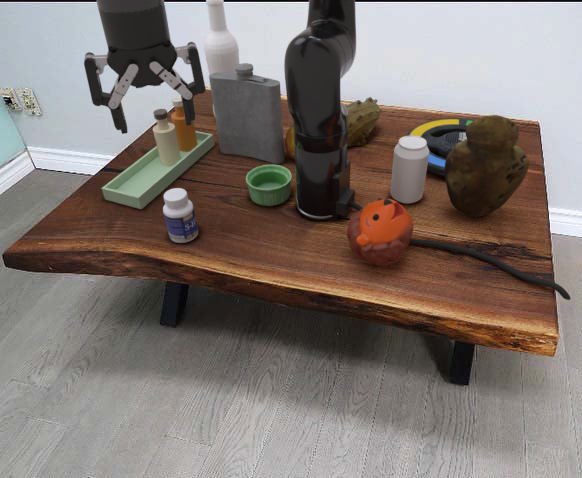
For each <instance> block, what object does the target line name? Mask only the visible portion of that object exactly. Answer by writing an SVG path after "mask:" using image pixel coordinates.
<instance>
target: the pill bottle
mask: <svg viewBox="0 0 582 478" xmlns="http://www.w3.org/2000/svg"><path fill="white" fill-rule="evenodd" d="M163 202H164V205H163V207H162V212H163V213H162V214H163V217H164V221H165V225H166V229H167V233H168V237H169V239H170V240H171V241H172V242H173V243H177V244H185V243H189V242H191V241H193V240H194V239H196V238H197V236H198V235H199V228H198V222H197V218H196V213H195V208H194V204H193V202H192V201H191V200H190V199H189V195H188V192H187V190H186V189H184V188H181V187H174V188H170V189H168V190H167V191H165V192H164V193H163Z"/></svg>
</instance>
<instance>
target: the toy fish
mask: <svg viewBox="0 0 582 478" xmlns="http://www.w3.org/2000/svg"><path fill="white" fill-rule="evenodd" d="M347 225H348V227H347V229H346V238H347V239H348V242H349V249H350V251H351V252H352V253H353V254H354V255H355V256H356V257H357V258H358V259H359V260H360V261H362V262H364V263H368V264H371V265H378V266H380V267H385V266H387V265H389V264H391V263H397V262H398V261H399V260H400V257H401V255H402V254H403V253H404V252H405V251H406V250H407V248H408V247H409V244H410V243H409V242H410V239H411V238H413V237H412V236H413V234H414V225H415V223H414V219H413V218H412V217H411V214H409V213H408V211H407V210H406V209H405V207H404V206H403V205H401V203H400V202H399V201H397V200H395V199H392V198H391V199H390V198H389V199H388V198H385V199H384V198H377V200H376V201H371V202H368V203H367V204H366V206H365V207H363V208H362V209H361V210H359V211H356V212H355V213H353V214H352V215H351V217H350V219H349V221H348V224H347Z"/></svg>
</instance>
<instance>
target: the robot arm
mask: <svg viewBox="0 0 582 478" xmlns="http://www.w3.org/2000/svg"><path fill="white" fill-rule="evenodd" d="M95 1H96V5H97V9H98V13H99V18H100V21H101V26H102V30H103V33H104V38H105V41H106V46H107V53H106V54H97V55H95V53H93V52H90V51H88V52H86V53H85V55H84V59H83V65H84V70H85V76H86V79H87V85H88V89H89V93H90V98H91V102H92V105H94V106H95V107H101V106H103V107H106V108H108V109H109V111H110V115H111V119H112V121H113V126H114V127H115V129H116V130H117V131H120V132H121V134H122V135H123V134H128V123H127V120H126V116H125V113H124V112H125V111H124V108H123V104H122V100H123V98H124V97H125V96H126V94H127V92H128V91H129V89H130V86H131V87H135V89H143V88H146V87H148V86H151V87H159V86H161V85H162V84H163V83H164V82H165V83H166V84H167V86H169V87H170V88H171V89H172V90H173V91H176V92H177V93H178V95H180V96H181V98H182V104H183V110H184V116H185V121H186V125H191V121H195V120H196V112H195V111H196V110H195V106H194V105H195V104H194V97H195V96H197V95H198V94H199V95H201V94H204V93H205V92H206V90H207V88H206V84H205V79H204V74H203V69H202V64H201V59H200V54H199V50H198V47H197V44H196V43H195V42H193V41H190V42H188V43H187V44H186V45H183V46H177V47H175V46H174V44H173V43H172V40H171V33H170V28H169V22H168V15H167V10H166V5H165V0H95ZM307 8H308V10H307V21H306V28H305V29H304V30H303V31H301V32H300V33H299V34H297V35H295V36H294V37H293V38H292V39H291V40H290V42H289V43H288V45H287V47H286V50H285V53H284V60H283V61H284V62H283V63H284V64H283V65H284V66H283V68H284V81H285V83H284V84H285V90H286V102H287V108H288V111H289V114H290V116H291V118H292V122H293V124H292V125H294V146H295V159H294V162H295V163H294V164H295V165H294V166H295V186H296V187H295V189H296V195H295V199H296V209H297V212H298V213H299V214H300V215H301V216H302V217H303V218H305V219H307V220H311V221H316V222H328V221H340V219H341V217H342V216H343V217H346V216H347V214H348V213H349V211H350V210H351V208H352V209H354V210H356V211H357V212H359V210H361V209H362V208H364V207H363V206H361V205H360V204H358V203H356V202H355V200H356V199H355V197H356V190H355V189H354V188H351V167H352V164H351V163H352V162H351V160H350V159H348V146H347V139H348V110H347V108H346V106H347V105H345V104H344V103H342V102H341V101H342V100H341V79H342V78H344V76H345V75H347V73H348V72H349V71H350V69H351V68H352V66H353V64H354V62H355V59H356V54H357V19H356V17H357V16H356V0H308V7H307ZM178 58H181V59H182V61H183V62H184V64H185V65H190V69H191V74H192V78H193V81H192V82H189V83H188V81H186V80H185V79H183V77H182V76H180V74H179V72H178V71H177V70H175V69H174V68H173V67H174V66H175V64H176V62H177V60H178ZM106 66H108V67H109V68H110V69H111V70H112V71H113V72H115V74H117V77H116V79H115V81H114V84H113V86H112V88H111V90H110V92H105V91H103V88H102V87H103V86H102V83H101V82H102V81H101V77H100V75H102V74H104V70H105V67H106ZM409 244H412V245H416V246H417V245H418V246H424V247H433V248H438V249H444V250H448V251H453V252H456V253H460V254H465V255H469V256H471V257H475V258H477V259H480V260H483V261H486V262H488V263H490V264H493V265H495V266H496V267H499V268H501V269H503V270H504V271H506V272H508V273H510V274H512V275H514V276H515V277H517V278H519V279H522V280H523V281H526V282H529V283H532V284H535V285H536V284H537V285H540V286H544V287H547V288H551V289H552V290H554V291H555V292H557V293H558V294H559V295H560V296H561V297H562V298H563V299H564V300H566V301H570V300H572V299H571V296H570V294H569V293H568V291H566V289H565V288H563V286H561V285H560V284H558V283H556V282H554V281H551V280H548V279H544V278H540V277H535V276H533V275H529V274H527V273H524V272H522V271H521V270H518V269H517V268H515V267H513V266H511V265H509V264H507V263H505V262H504V261H501V260H500V259H499V258H495V257H493V256H491V255H488V254H486V253H483V252H480V251H477V250H474V249H470V248H467V247H463V246H458V245H454V244H450V243H445V242H440V241H436V240H435V241H434V240H426V239H420V238H414V237H411V239H410V242H409Z"/></svg>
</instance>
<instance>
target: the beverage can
mask: <svg viewBox="0 0 582 478" xmlns="http://www.w3.org/2000/svg"><path fill="white" fill-rule="evenodd" d="M429 151H430V150H429V149H428V147H427V142H426V140H425V139H424V138H422V137H419V136H414V135H409V136H406V135H404V136H402V137H400V138H399V139H398V143H397V144H396V145H395V147H394V149H393V158H392V159H393V160H392V167H391V168H392V169H391V180H390V191H389V192H390V197H392V199H393V200H394V201H396V202H398V203H400V204H406V205H407V204H413V203H416V202H419V201H420V200H422V198H423V195H424V190H425V184H426V178H427V171H428V170H427V164H428V158H429Z"/></svg>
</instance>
